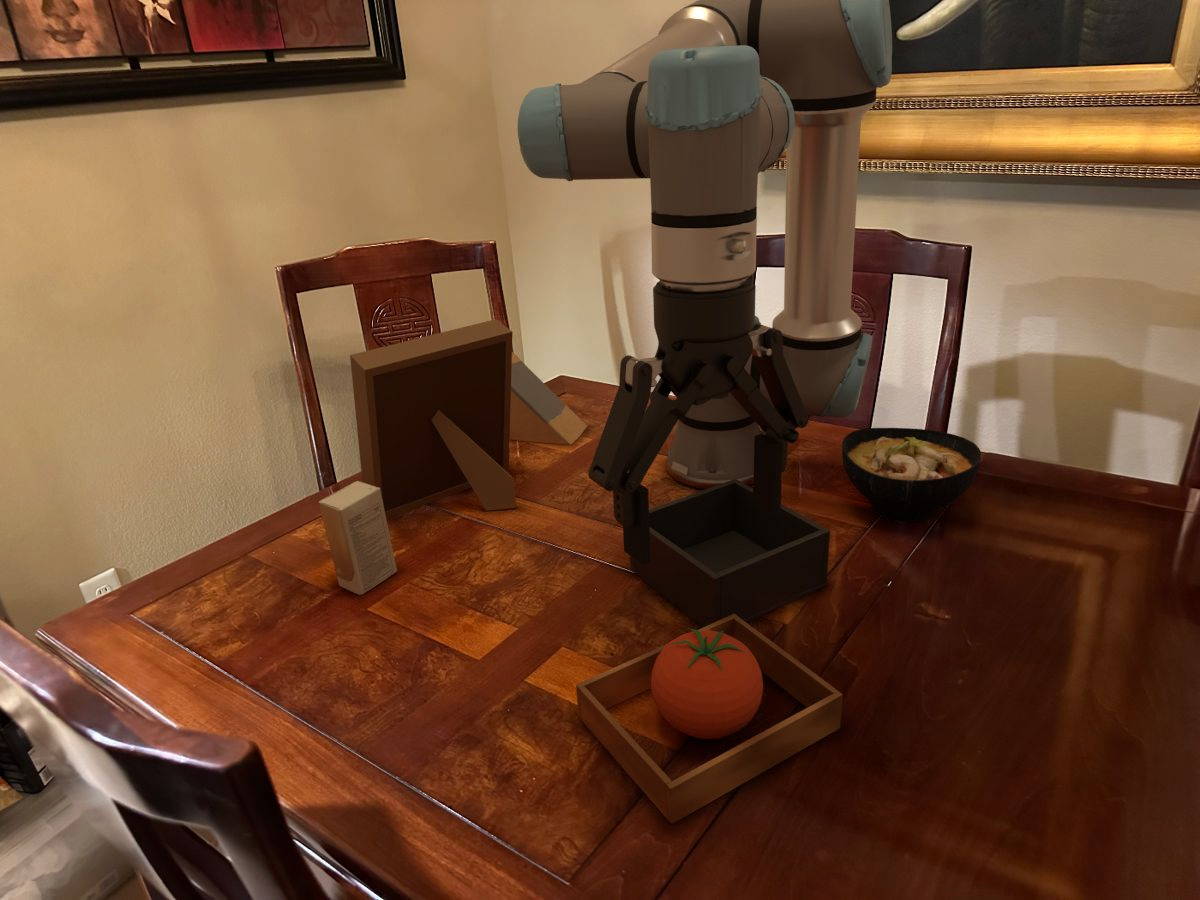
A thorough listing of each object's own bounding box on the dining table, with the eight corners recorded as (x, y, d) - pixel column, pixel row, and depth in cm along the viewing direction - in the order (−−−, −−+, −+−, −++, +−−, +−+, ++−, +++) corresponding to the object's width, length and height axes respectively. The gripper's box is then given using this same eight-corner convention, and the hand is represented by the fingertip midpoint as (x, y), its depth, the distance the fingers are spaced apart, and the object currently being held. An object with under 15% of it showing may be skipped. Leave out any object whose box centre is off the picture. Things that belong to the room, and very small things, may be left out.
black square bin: (734, 529, 111) (735, 478, 108) (826, 586, 98) (830, 530, 95) (630, 569, 104) (627, 516, 101) (714, 637, 91) (714, 578, 88)
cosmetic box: (375, 563, 109) (359, 478, 104) (398, 572, 106) (382, 486, 101) (335, 587, 104) (316, 500, 99) (358, 597, 102) (340, 508, 97)
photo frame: (365, 511, 122) (333, 345, 112) (494, 465, 134) (476, 311, 123) (411, 550, 111) (379, 371, 101) (546, 497, 123) (531, 331, 112)
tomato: (761, 768, 74) (764, 678, 70) (646, 758, 76) (642, 669, 71) (762, 690, 83) (764, 605, 79) (658, 682, 85) (655, 600, 81)
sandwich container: (571, 445, 139) (564, 359, 133) (488, 438, 144) (477, 354, 138) (589, 425, 146) (583, 342, 140) (509, 419, 151) (500, 338, 145)
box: (733, 644, 90) (734, 613, 88) (840, 728, 78) (843, 694, 76) (578, 717, 81) (575, 684, 79) (671, 824, 69) (670, 788, 67)
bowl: (851, 472, 125) (856, 409, 120) (977, 490, 117) (986, 424, 113) (825, 526, 111) (830, 457, 107) (966, 550, 104) (976, 477, 99)
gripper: (583, 321, 53) (601, 602, 62) (863, 260, 64) (845, 505, 73) (529, 299, 59) (552, 558, 68) (794, 247, 70) (785, 475, 79)
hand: (704, 531), depth 70 cm, fingers open, 13 cm apart
